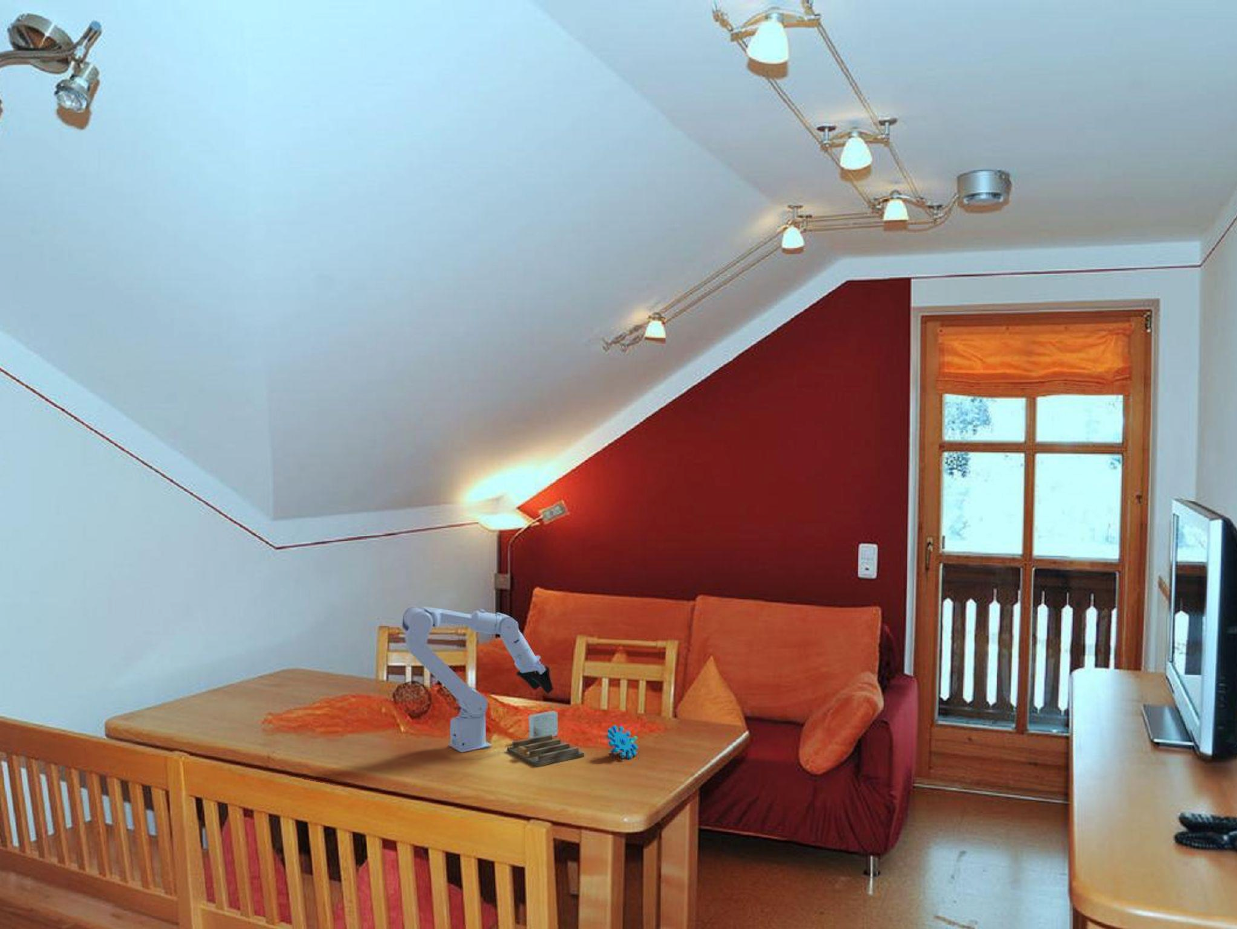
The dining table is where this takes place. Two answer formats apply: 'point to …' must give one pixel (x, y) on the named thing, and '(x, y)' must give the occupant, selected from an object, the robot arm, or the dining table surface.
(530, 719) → the panel
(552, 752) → the slot rack
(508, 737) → the dining table surface
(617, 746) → the gear
